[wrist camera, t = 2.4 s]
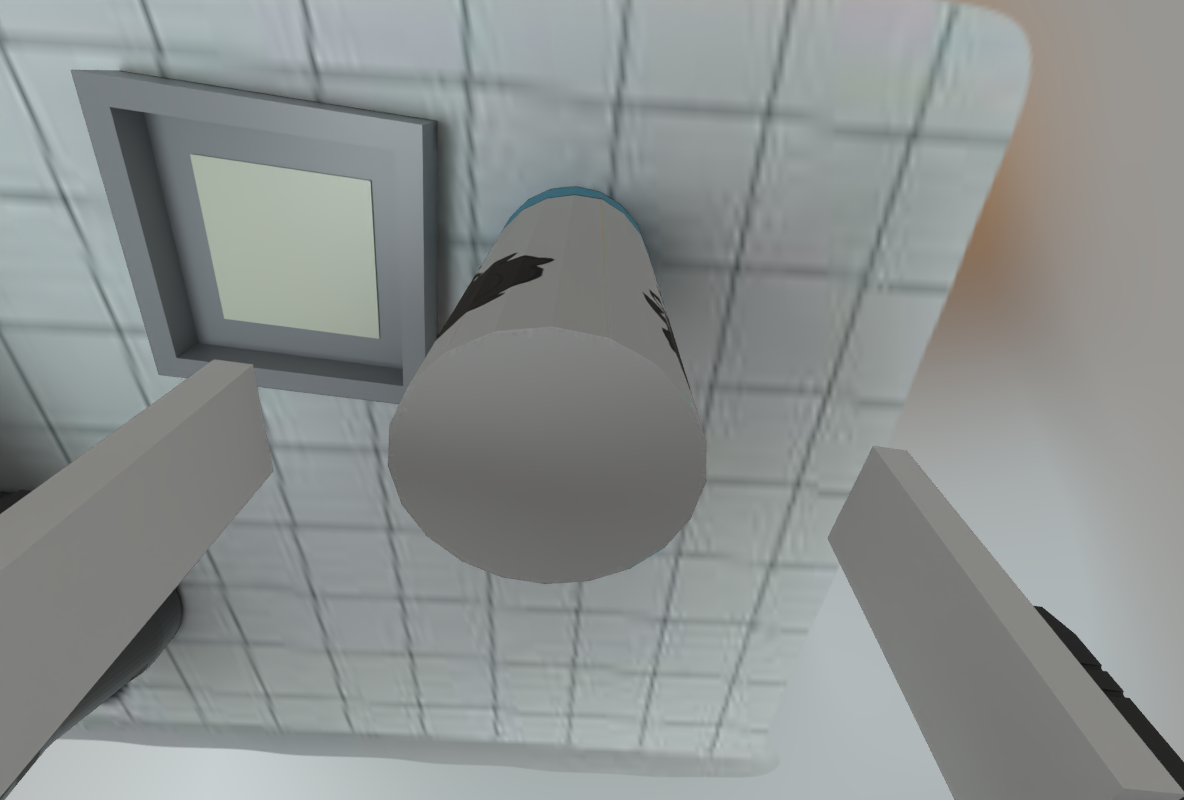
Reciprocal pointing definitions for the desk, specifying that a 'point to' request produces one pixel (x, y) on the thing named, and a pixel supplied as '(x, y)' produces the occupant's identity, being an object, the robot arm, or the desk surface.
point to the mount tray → (271, 231)
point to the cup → (553, 405)
